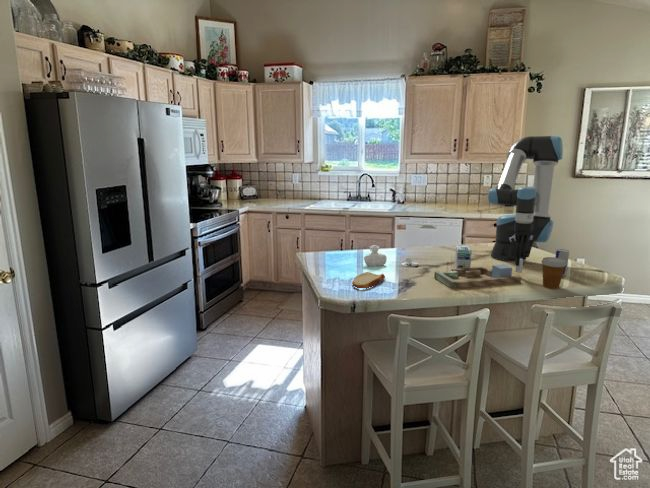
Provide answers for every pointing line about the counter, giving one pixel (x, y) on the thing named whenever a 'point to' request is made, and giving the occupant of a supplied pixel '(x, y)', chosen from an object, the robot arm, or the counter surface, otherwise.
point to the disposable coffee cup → (552, 271)
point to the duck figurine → (375, 257)
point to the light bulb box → (463, 257)
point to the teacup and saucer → (410, 262)
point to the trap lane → (472, 272)
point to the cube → (501, 271)
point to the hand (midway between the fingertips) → (518, 272)
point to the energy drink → (563, 255)
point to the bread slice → (367, 280)
